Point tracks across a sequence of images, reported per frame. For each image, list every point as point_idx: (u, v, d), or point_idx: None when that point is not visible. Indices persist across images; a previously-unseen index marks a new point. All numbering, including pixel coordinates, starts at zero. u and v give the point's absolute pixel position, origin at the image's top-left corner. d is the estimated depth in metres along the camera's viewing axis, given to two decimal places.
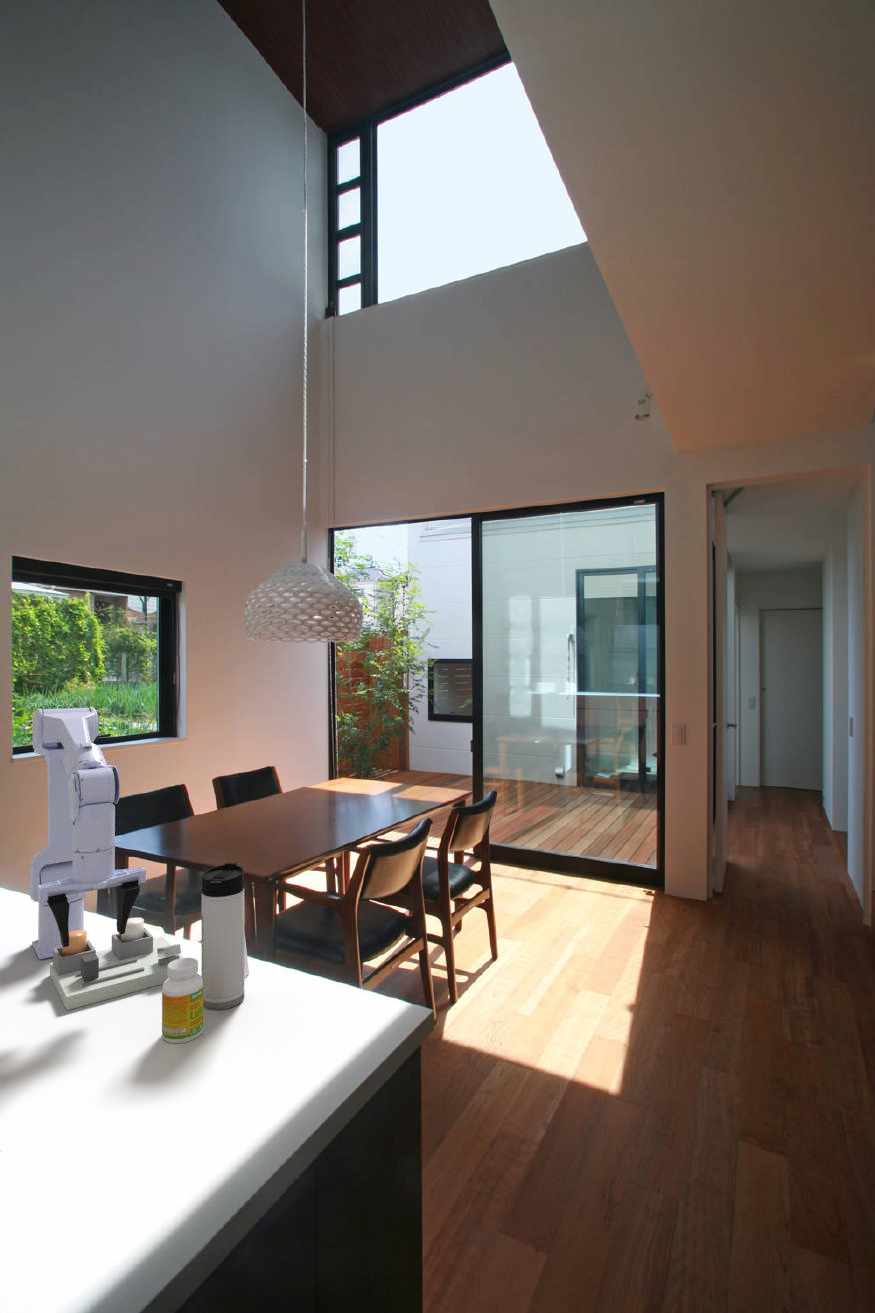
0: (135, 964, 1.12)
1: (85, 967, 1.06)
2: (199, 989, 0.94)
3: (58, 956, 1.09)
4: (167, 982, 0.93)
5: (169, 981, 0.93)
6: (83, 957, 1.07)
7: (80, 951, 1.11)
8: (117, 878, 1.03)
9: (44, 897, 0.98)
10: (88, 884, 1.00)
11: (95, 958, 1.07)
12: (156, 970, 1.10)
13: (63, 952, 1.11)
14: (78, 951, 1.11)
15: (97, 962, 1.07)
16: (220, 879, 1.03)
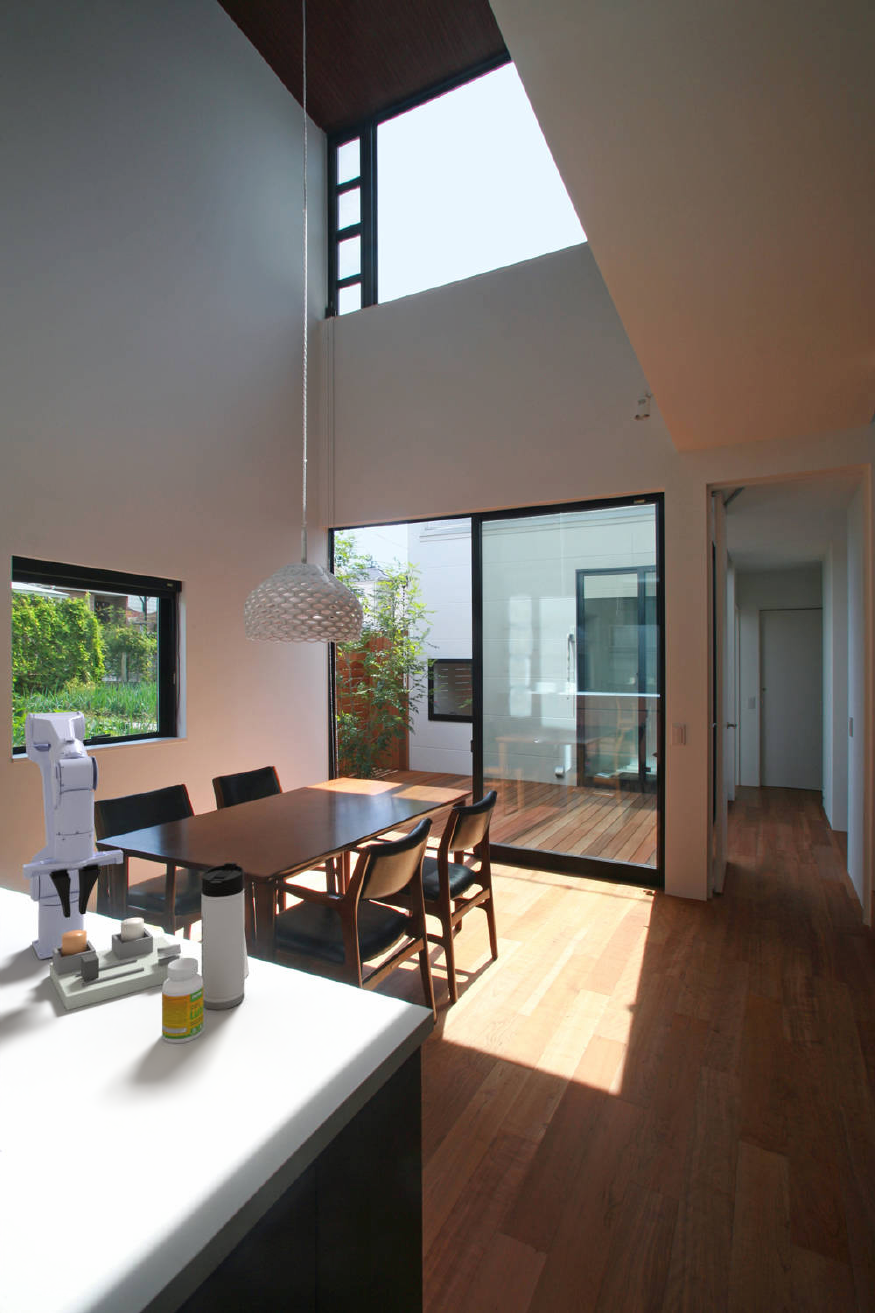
0: (135, 964, 1.12)
1: (85, 967, 1.06)
2: (199, 989, 0.94)
3: (58, 956, 1.09)
4: (167, 982, 0.93)
5: (169, 981, 0.93)
6: (83, 957, 1.07)
7: (80, 951, 1.11)
8: (96, 859, 1.12)
9: (29, 875, 1.07)
10: (69, 863, 1.09)
11: (95, 958, 1.07)
12: (156, 970, 1.10)
13: (63, 952, 1.11)
14: (78, 951, 1.11)
15: (97, 962, 1.07)
16: (220, 879, 1.03)
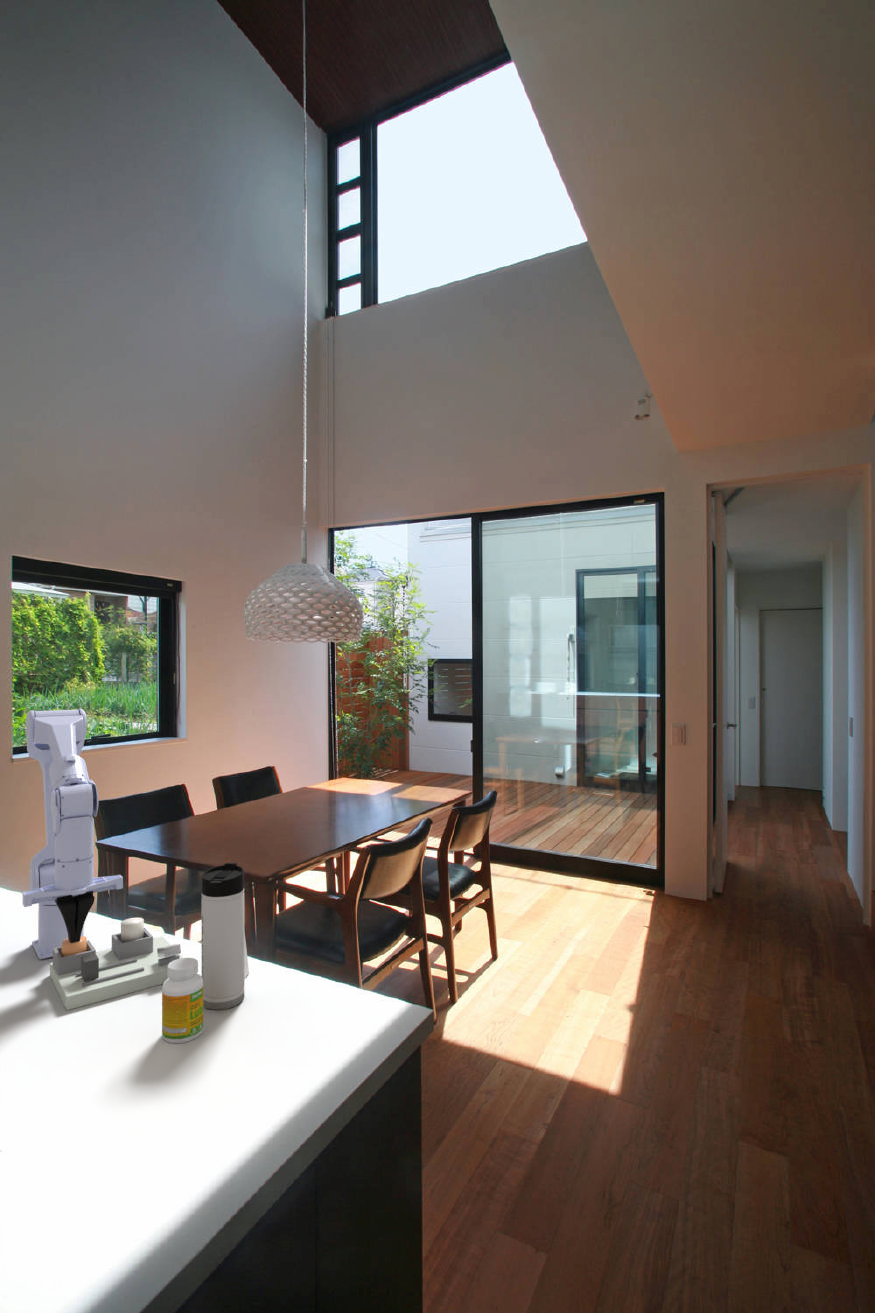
0: (135, 964, 1.12)
1: (85, 967, 1.06)
2: (199, 989, 0.94)
3: (58, 956, 1.09)
4: (167, 982, 0.93)
5: (169, 981, 0.93)
6: (83, 957, 1.07)
7: None
8: (96, 885, 1.12)
9: (28, 903, 1.07)
10: (69, 891, 1.09)
11: (95, 958, 1.07)
12: (156, 970, 1.10)
13: None
14: None
15: (97, 962, 1.07)
16: (220, 879, 1.03)
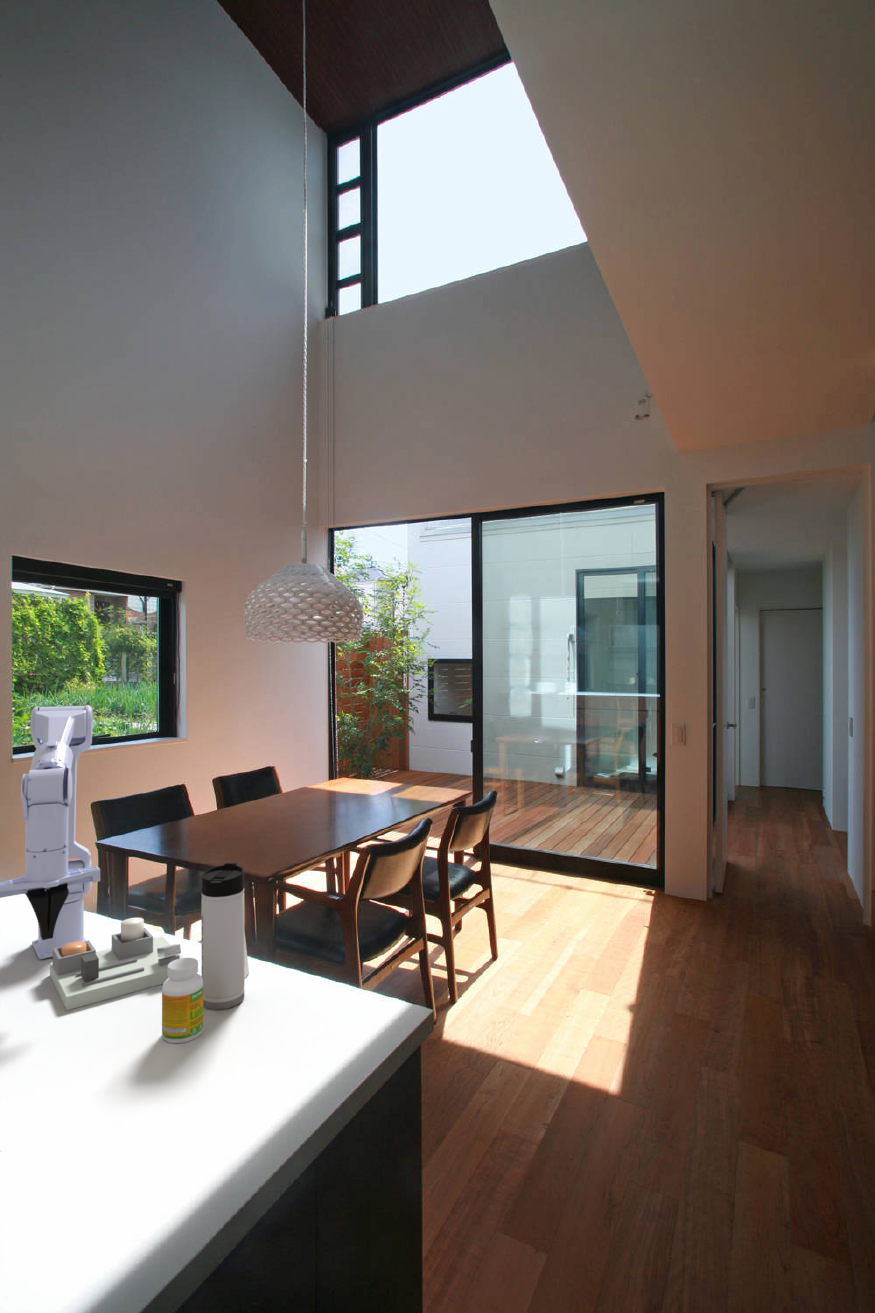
0: (135, 964, 1.12)
1: (85, 967, 1.06)
2: (199, 989, 0.94)
3: (58, 956, 1.09)
4: (167, 982, 0.93)
5: (169, 981, 0.93)
6: (83, 957, 1.07)
7: None
8: (70, 877, 1.04)
9: None
10: (40, 883, 1.01)
11: (95, 958, 1.07)
12: (156, 970, 1.10)
13: None
14: None
15: (97, 962, 1.07)
16: (220, 879, 1.03)
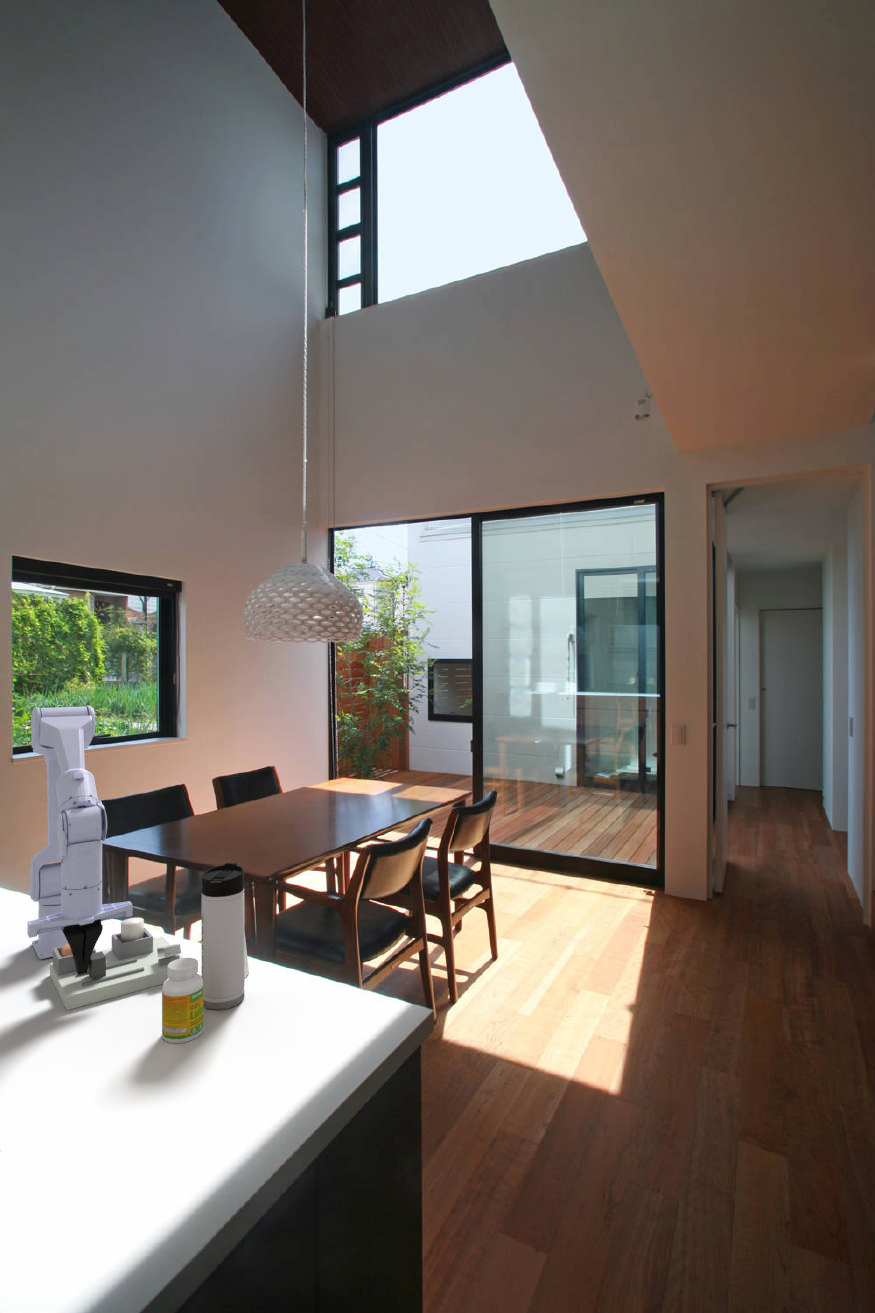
0: (135, 964, 1.12)
1: (92, 965, 1.06)
2: (199, 989, 0.94)
3: (58, 956, 1.09)
4: (167, 982, 0.93)
5: (169, 981, 0.93)
6: None
7: None
8: (104, 913, 1.07)
9: (34, 934, 1.02)
10: (76, 920, 1.04)
11: (102, 956, 1.07)
12: (156, 970, 1.10)
13: None
14: None
15: (104, 960, 1.07)
16: (220, 879, 1.03)
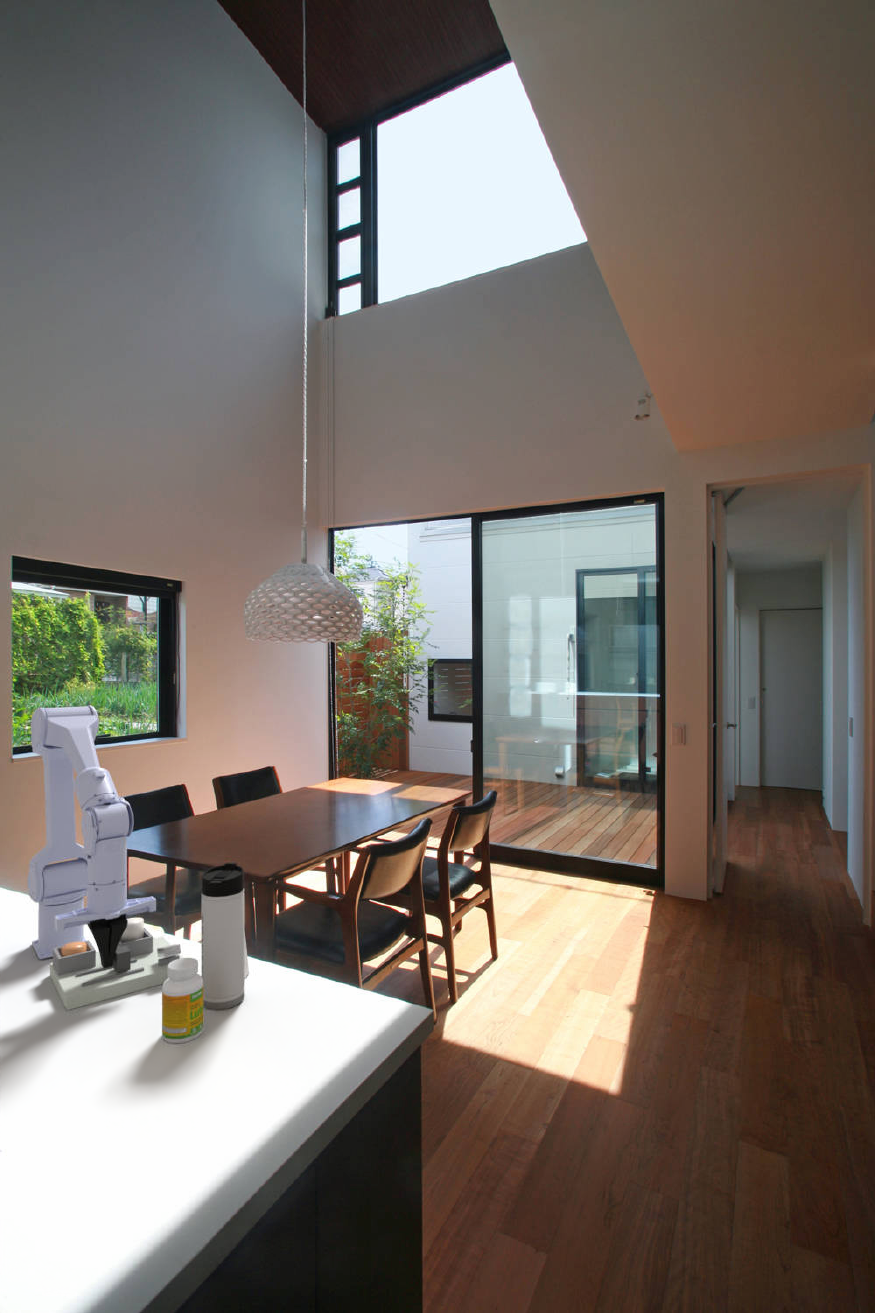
0: (135, 964, 1.12)
1: (117, 959, 1.08)
2: (199, 989, 0.94)
3: (58, 956, 1.09)
4: (167, 982, 0.93)
5: (169, 981, 0.93)
6: None
7: None
8: (129, 908, 1.09)
9: (61, 928, 1.04)
10: (102, 915, 1.06)
11: (127, 950, 1.10)
12: (156, 970, 1.10)
13: None
14: None
15: (129, 954, 1.09)
16: (220, 879, 1.03)
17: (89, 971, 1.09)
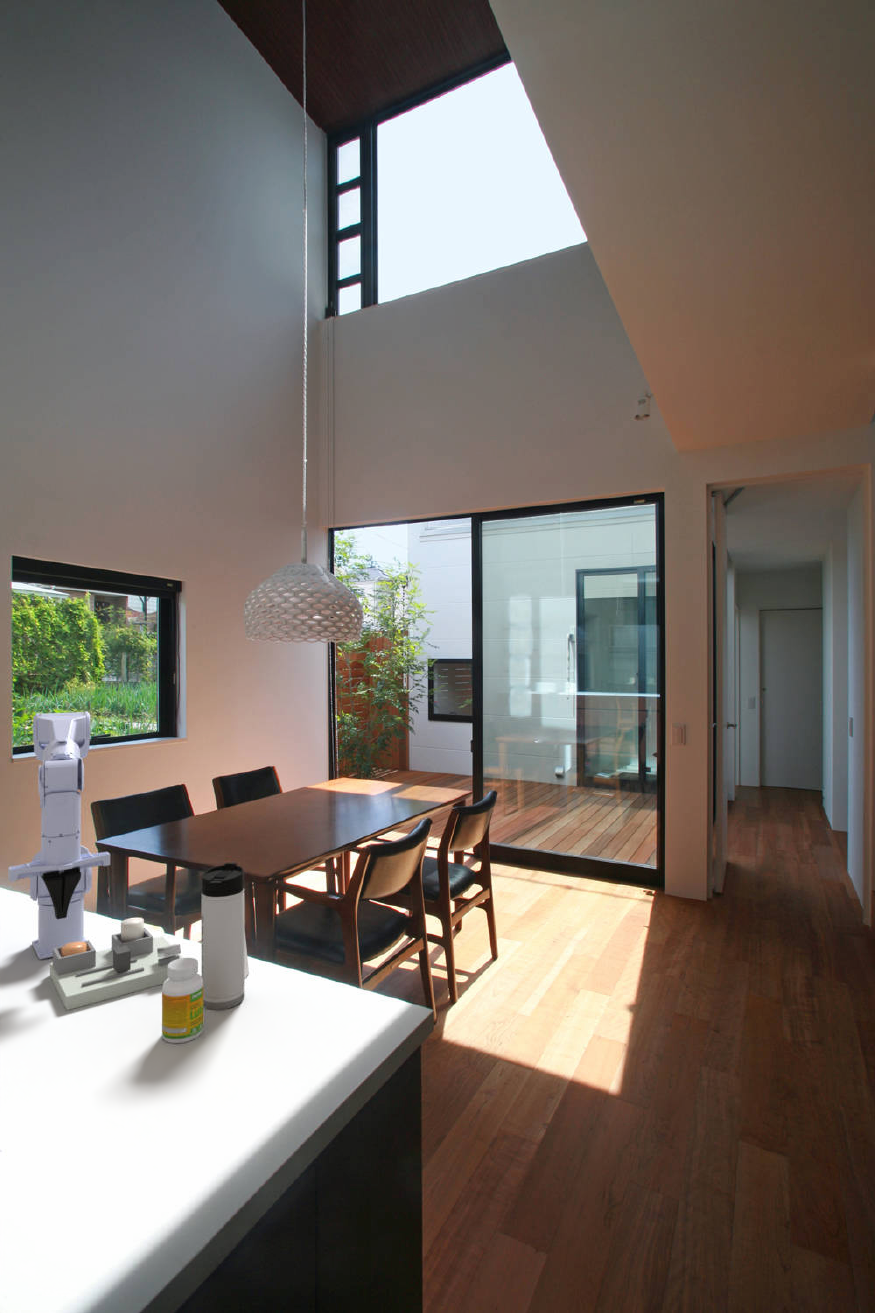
0: (135, 964, 1.12)
1: (117, 959, 1.08)
2: (199, 989, 0.94)
3: (58, 956, 1.09)
4: (167, 982, 0.93)
5: (169, 981, 0.93)
6: (115, 949, 1.10)
7: None
8: (82, 861, 1.12)
9: (14, 878, 1.07)
10: (55, 866, 1.08)
11: (127, 950, 1.10)
12: (156, 970, 1.10)
13: None
14: None
15: (129, 954, 1.09)
16: (220, 879, 1.03)
17: (89, 971, 1.09)
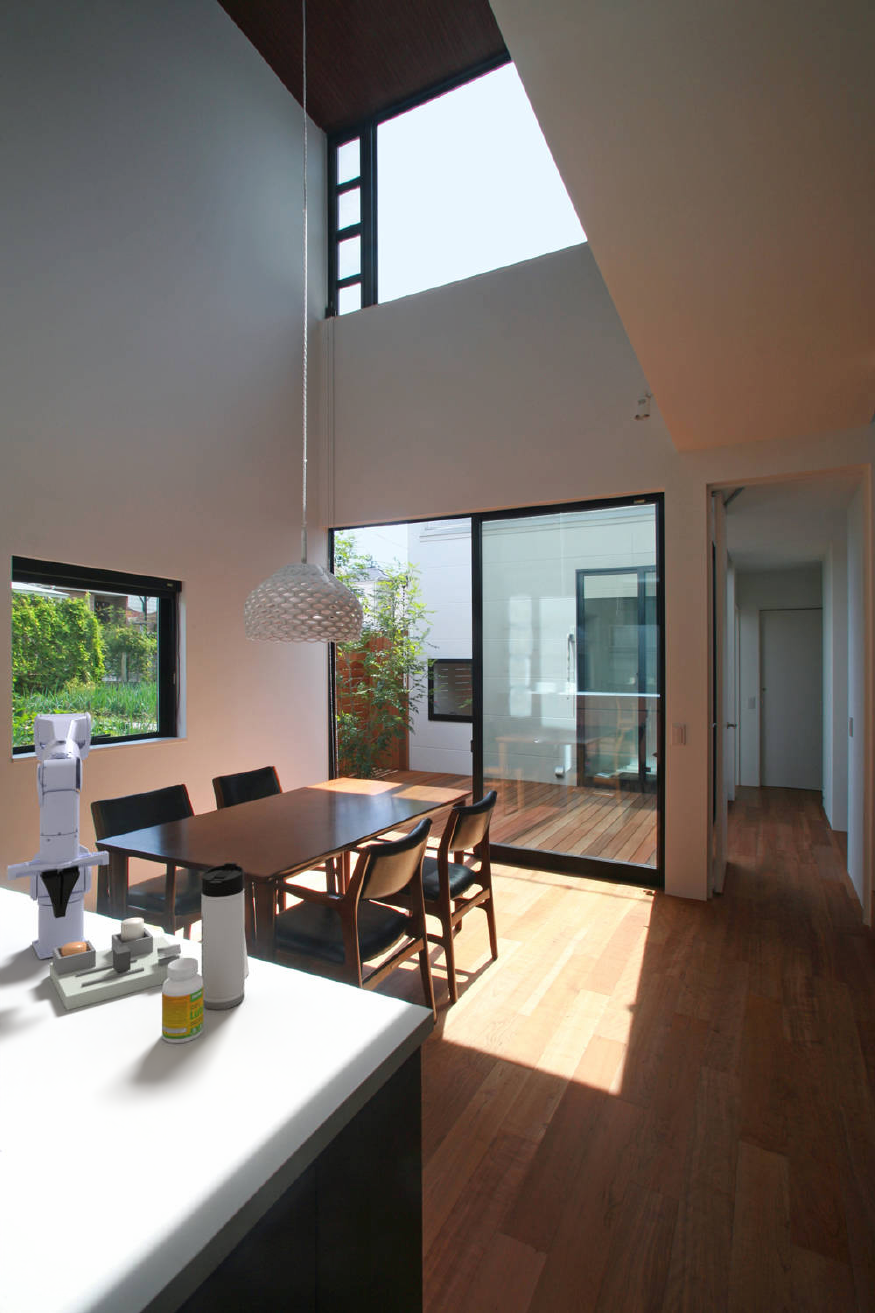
0: (135, 964, 1.12)
1: (117, 959, 1.08)
2: (199, 989, 0.94)
3: (58, 956, 1.09)
4: (167, 982, 0.93)
5: (169, 981, 0.93)
6: (115, 949, 1.10)
7: None
8: (81, 860, 1.12)
9: (13, 877, 1.07)
10: (53, 864, 1.09)
11: (127, 950, 1.10)
12: (156, 970, 1.10)
13: None
14: None
15: (129, 954, 1.09)
16: (220, 879, 1.03)
17: (89, 971, 1.09)
